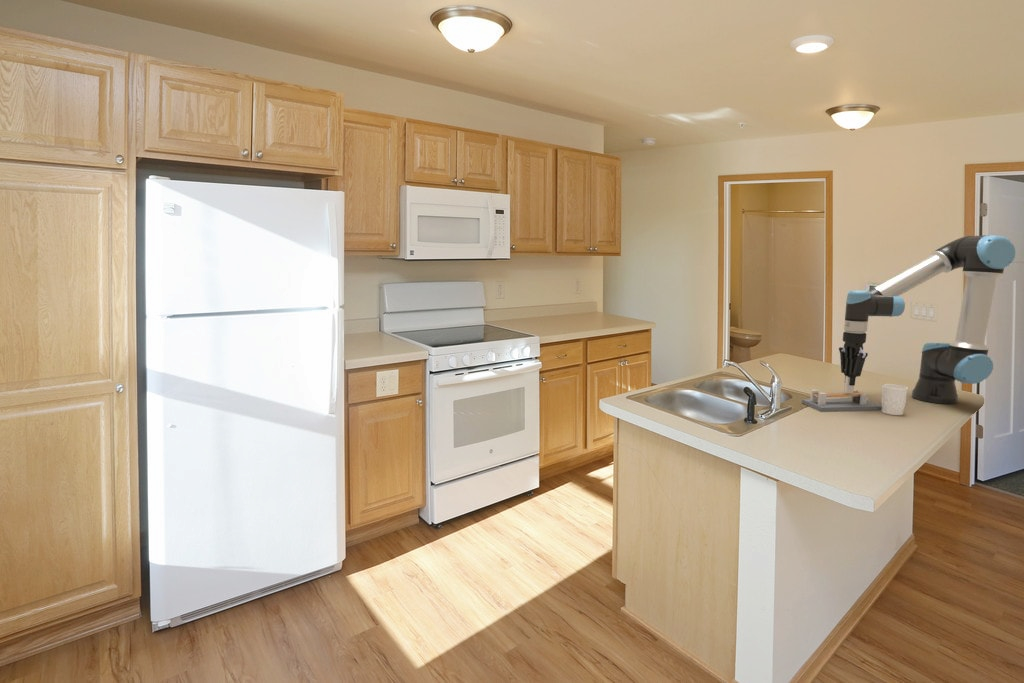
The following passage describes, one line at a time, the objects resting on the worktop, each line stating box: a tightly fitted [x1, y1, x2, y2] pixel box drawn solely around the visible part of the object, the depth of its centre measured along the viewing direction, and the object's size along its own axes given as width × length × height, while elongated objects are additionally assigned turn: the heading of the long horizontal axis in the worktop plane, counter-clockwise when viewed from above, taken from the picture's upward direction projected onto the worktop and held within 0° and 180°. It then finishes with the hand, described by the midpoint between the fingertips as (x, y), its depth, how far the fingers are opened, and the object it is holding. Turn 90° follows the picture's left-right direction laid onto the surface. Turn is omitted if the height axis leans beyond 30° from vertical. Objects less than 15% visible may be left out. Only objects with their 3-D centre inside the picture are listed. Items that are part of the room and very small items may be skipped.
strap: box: [813, 391, 865, 398], centre depth 220 cm, size 19×3×1 cm, turn 96°
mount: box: [801, 389, 882, 413], centre depth 220 cm, size 25×12×6 cm, turn 96°
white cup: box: [880, 383, 909, 416], centre depth 212 cm, size 8×8×10 cm
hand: (848, 393), depth 220 cm, fingers closed
